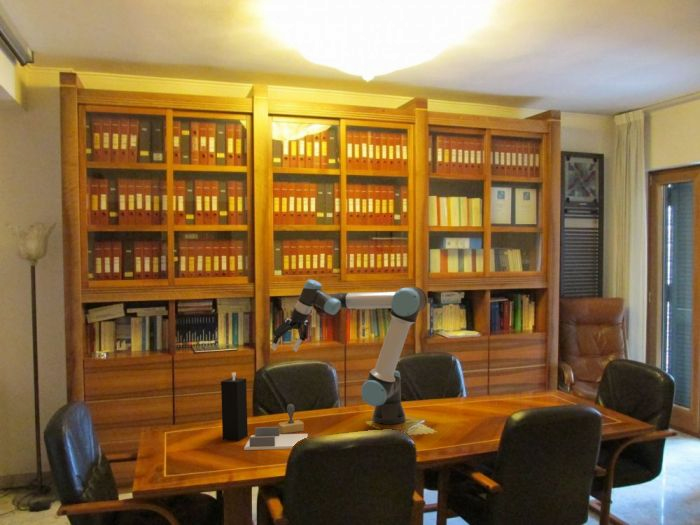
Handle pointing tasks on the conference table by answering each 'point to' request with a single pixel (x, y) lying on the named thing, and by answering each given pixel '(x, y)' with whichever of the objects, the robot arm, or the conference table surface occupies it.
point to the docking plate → (272, 439)
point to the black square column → (234, 408)
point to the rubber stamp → (291, 423)
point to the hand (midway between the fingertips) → (284, 349)
